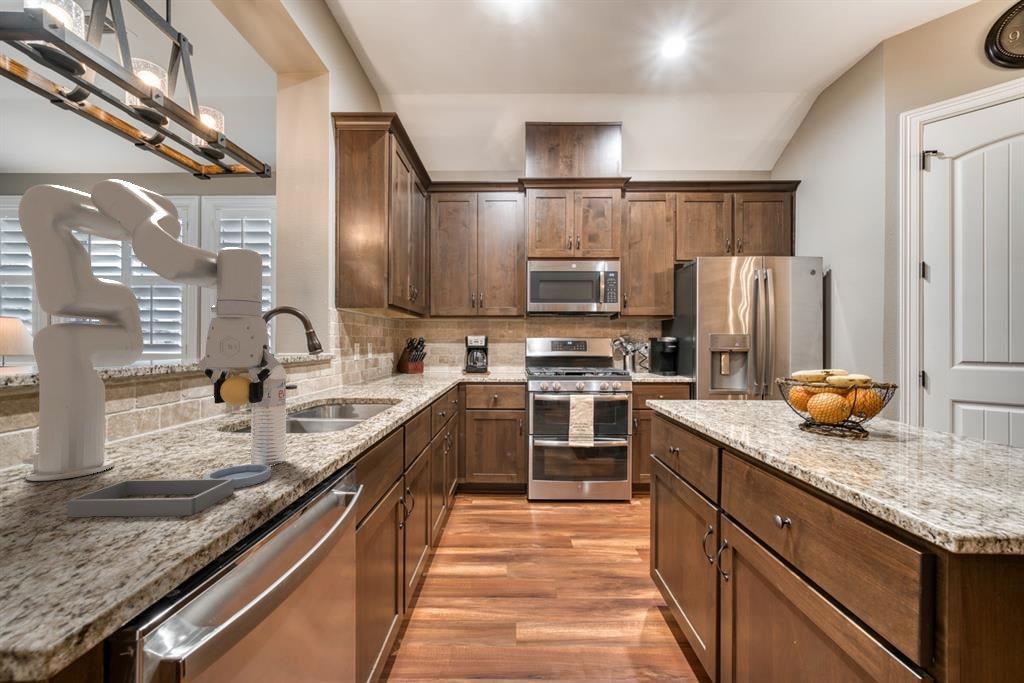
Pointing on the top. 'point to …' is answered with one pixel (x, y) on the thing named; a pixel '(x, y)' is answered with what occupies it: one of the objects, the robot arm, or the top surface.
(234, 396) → the yellow-orange oval ball
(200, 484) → the shallow grey tray
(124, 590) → the top surface
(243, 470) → the dish
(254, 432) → the water bottle
